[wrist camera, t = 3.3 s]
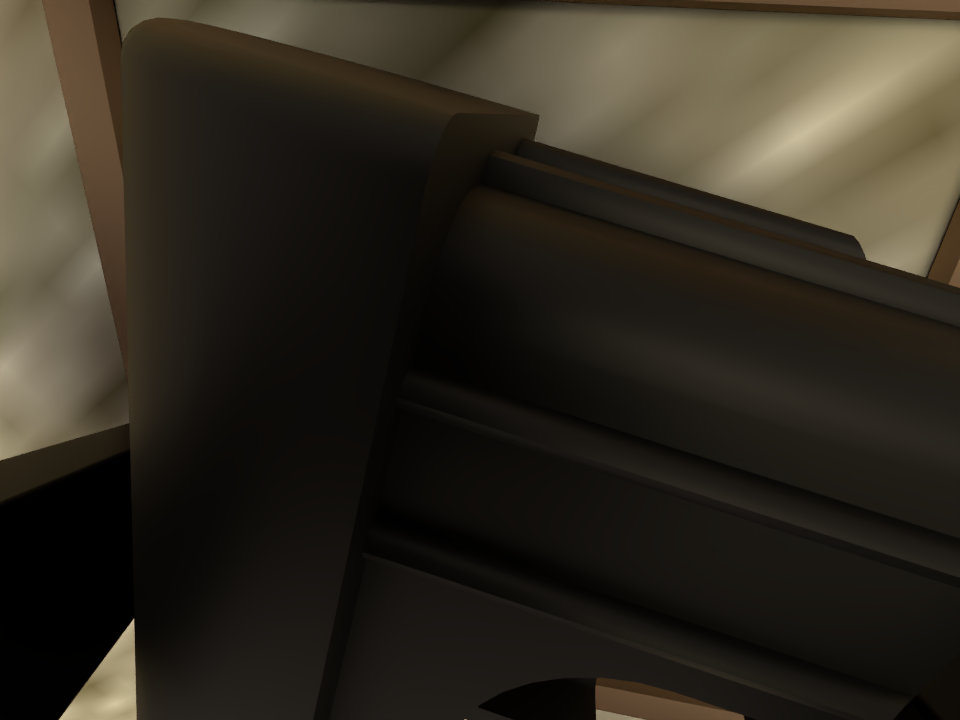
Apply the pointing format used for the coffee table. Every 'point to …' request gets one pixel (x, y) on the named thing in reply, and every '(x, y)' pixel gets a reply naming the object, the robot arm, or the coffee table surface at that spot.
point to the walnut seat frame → (99, 146)
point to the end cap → (506, 416)
